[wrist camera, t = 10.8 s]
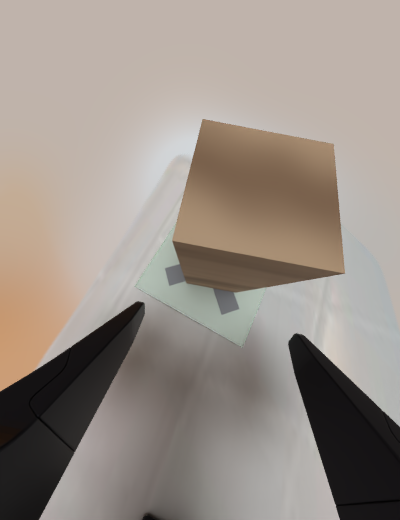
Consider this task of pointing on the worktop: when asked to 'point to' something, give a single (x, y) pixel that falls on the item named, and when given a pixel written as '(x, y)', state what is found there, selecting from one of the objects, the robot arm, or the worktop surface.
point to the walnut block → (258, 210)
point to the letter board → (199, 296)
